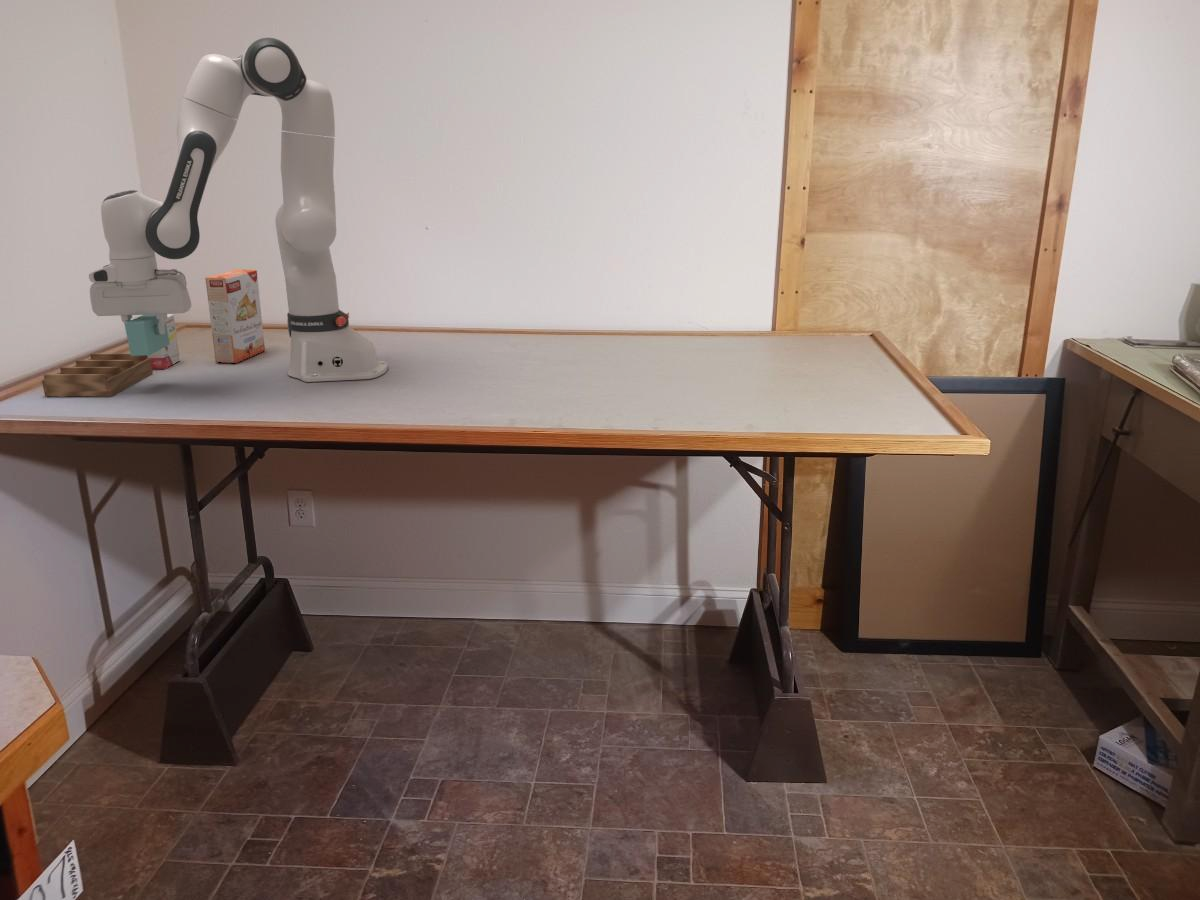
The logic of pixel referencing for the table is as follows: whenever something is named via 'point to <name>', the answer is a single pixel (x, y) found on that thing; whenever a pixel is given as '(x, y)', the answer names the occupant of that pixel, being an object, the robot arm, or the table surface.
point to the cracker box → (235, 315)
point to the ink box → (167, 348)
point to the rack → (98, 375)
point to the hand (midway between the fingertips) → (147, 334)
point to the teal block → (145, 335)
